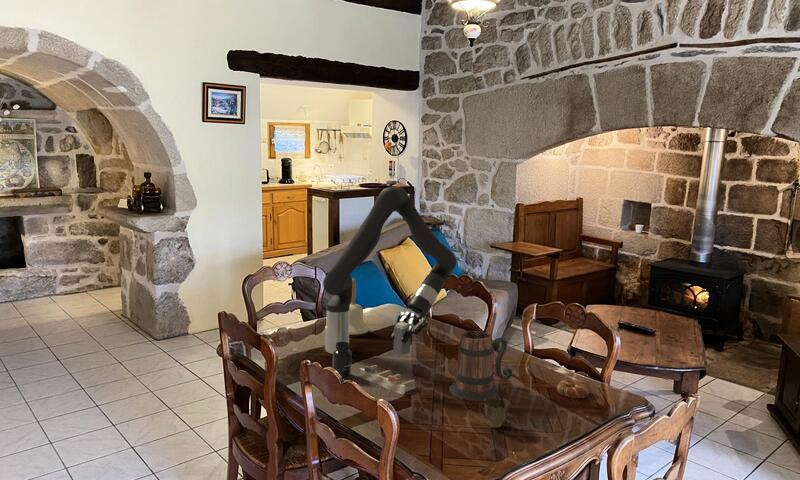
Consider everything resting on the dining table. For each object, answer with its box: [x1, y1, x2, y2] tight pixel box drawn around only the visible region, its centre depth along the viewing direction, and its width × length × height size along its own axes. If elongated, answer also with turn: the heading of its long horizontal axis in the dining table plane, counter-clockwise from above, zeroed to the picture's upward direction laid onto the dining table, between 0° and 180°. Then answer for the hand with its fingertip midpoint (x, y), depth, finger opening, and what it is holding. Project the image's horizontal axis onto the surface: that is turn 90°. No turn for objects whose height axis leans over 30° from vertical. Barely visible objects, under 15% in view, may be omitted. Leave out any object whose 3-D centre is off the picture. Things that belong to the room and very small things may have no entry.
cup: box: [483, 396, 510, 429], centre depth 176 cm, size 8×7×8 cm
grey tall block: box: [393, 322, 411, 355], centre depth 202 cm, size 4×4×10 cm
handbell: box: [349, 277, 370, 335], centre depth 264 cm, size 15×15×25 cm
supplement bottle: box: [332, 342, 353, 379], centre depth 213 cm, size 7×7×12 cm
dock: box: [358, 364, 416, 395], centre depth 208 cm, size 22×7×5 cm, turn 45°
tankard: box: [448, 330, 513, 402], centre depth 203 cm, size 24×17×20 cm
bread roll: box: [556, 378, 591, 399], centre depth 204 cm, size 12×11×4 cm
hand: (398, 340), depth 200 cm, fingers closed on grey tall block, 4 cm apart
